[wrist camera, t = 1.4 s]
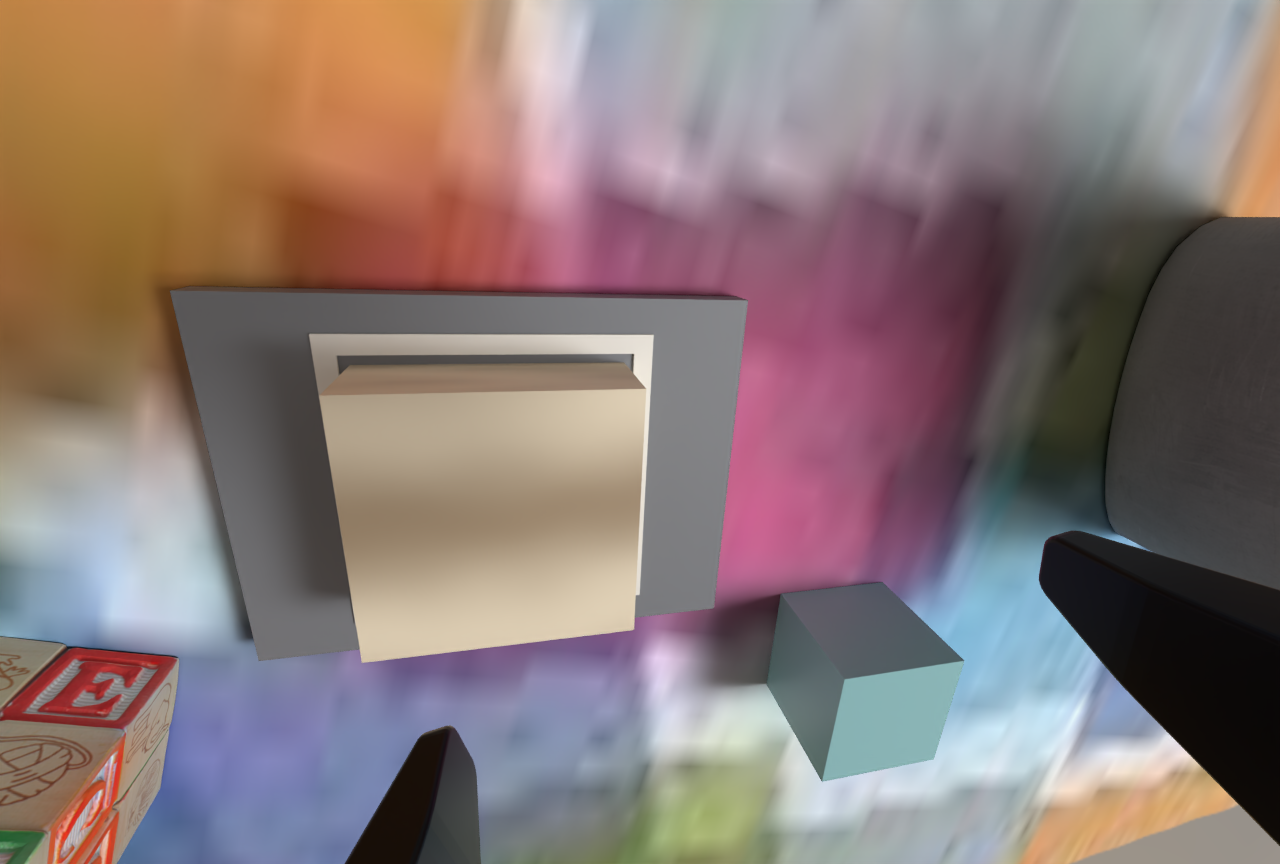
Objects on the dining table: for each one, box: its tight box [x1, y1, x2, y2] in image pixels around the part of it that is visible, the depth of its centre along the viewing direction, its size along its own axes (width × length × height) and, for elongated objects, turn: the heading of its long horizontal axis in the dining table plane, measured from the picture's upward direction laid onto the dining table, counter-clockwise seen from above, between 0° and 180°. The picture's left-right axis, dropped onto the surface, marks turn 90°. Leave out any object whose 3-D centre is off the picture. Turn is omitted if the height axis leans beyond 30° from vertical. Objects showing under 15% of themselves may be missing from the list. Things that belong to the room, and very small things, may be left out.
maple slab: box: [319, 362, 646, 663], centre depth 17 cm, size 8×8×3 cm
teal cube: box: [767, 582, 964, 782], centre depth 23 cm, size 5×5×5 cm
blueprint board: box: [170, 286, 748, 661], centre depth 19 cm, size 12×16×1 cm
